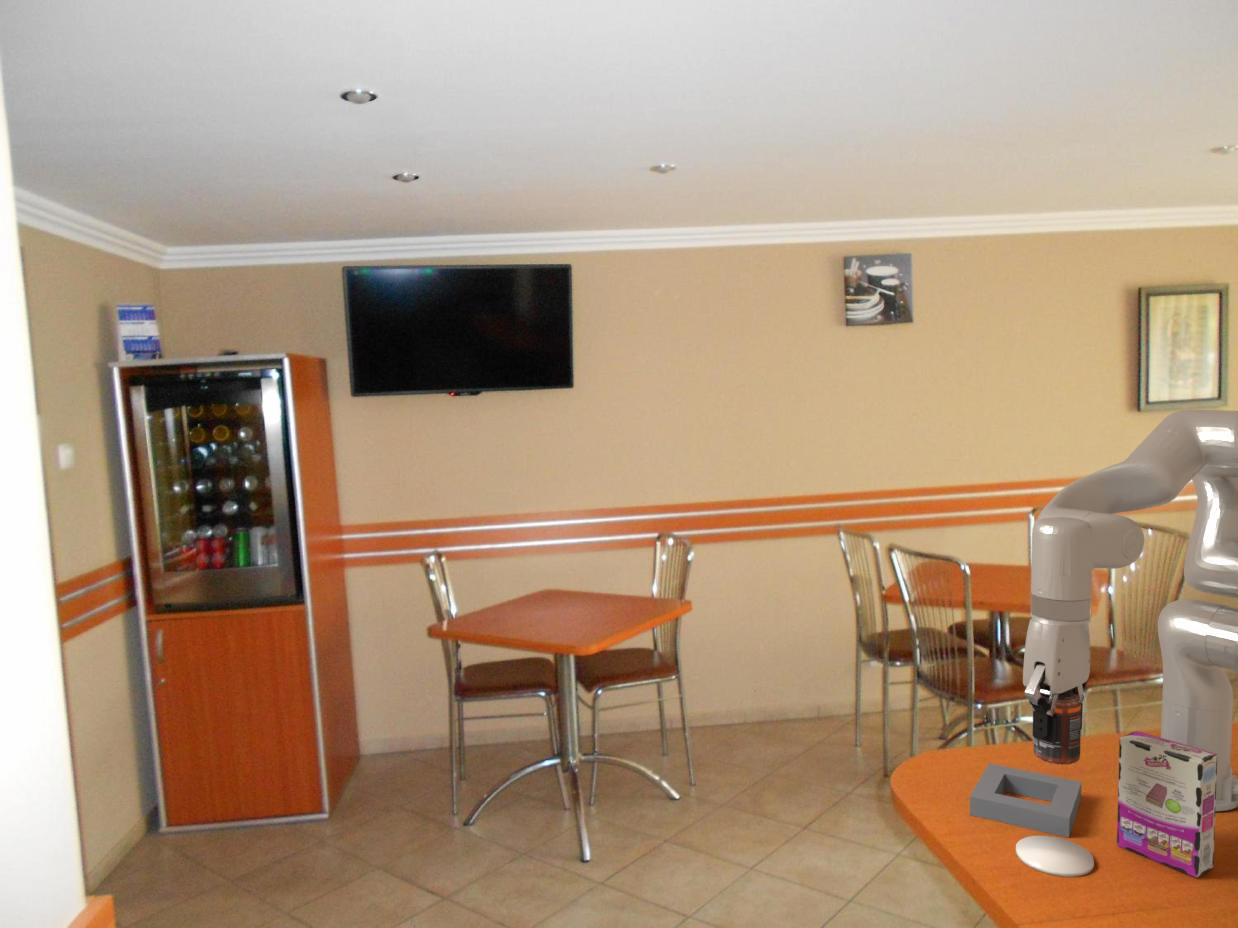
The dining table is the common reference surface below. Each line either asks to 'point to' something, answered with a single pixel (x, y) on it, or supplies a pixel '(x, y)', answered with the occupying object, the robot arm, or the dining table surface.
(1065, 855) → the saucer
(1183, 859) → the candy bar box
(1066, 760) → the supplement bottle
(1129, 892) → the dining table surface
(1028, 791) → the socket block
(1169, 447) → the robot arm
